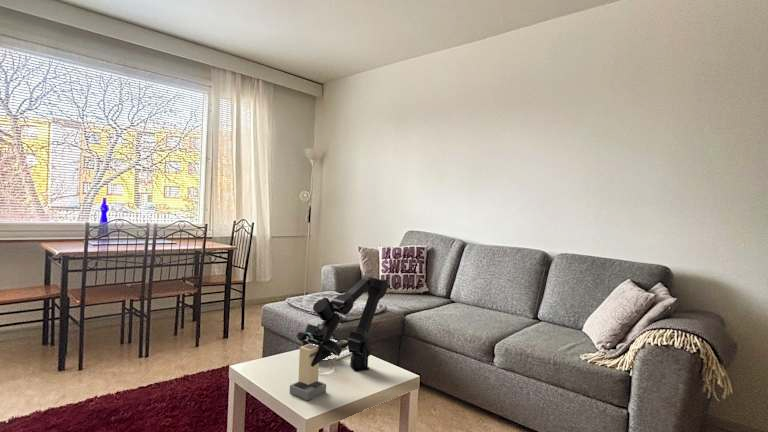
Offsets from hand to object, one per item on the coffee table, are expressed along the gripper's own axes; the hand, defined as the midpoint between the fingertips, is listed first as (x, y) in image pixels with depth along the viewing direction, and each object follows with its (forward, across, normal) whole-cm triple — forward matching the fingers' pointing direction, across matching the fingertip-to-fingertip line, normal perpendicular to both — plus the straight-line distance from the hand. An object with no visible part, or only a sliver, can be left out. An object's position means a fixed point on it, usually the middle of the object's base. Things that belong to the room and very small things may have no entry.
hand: (306, 364), depth 154 cm
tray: (+7, 0, +9) cm, 11 cm away
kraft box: (+4, 0, +6) cm, 7 cm away
